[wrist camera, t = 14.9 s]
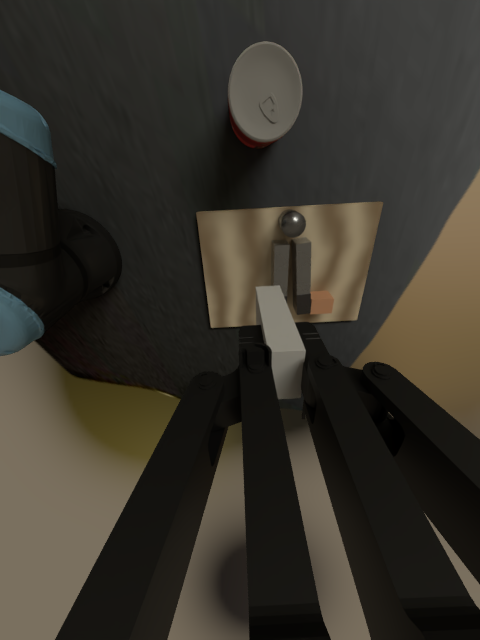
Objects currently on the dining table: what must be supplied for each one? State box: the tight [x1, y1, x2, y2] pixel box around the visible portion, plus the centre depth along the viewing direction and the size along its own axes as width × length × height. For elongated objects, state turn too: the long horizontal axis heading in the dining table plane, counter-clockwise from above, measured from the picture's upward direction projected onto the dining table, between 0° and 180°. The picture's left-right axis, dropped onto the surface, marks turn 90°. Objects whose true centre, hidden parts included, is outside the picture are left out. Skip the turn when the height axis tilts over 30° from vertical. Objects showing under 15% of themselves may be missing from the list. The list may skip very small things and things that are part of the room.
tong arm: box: [292, 237, 311, 315], centre depth 44 cm, size 13×2×4 cm, turn 7°
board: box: [196, 202, 383, 328], centre depth 46 cm, size 30×22×1 cm
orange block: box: [310, 291, 334, 314], centre depth 47 cm, size 4×3×4 cm
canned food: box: [228, 41, 302, 149], centre depth 30 cm, size 8×8×11 cm
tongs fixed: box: [271, 209, 306, 303], centre depth 43 cm, size 18×5×4 cm, turn 3°
